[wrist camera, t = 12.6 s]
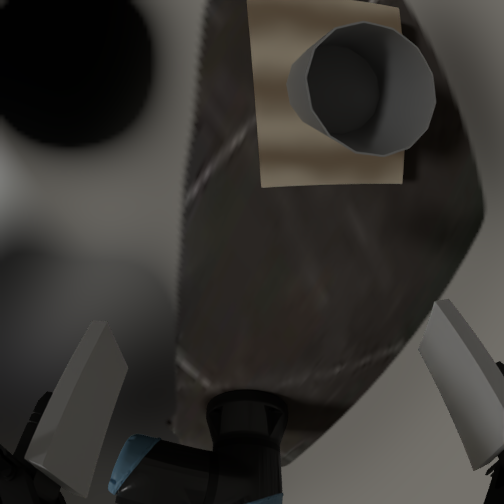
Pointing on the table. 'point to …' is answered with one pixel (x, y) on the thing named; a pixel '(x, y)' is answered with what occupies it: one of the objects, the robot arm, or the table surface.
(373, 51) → the cup
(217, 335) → the table surface
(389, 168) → the oak stand
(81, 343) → the robot arm
